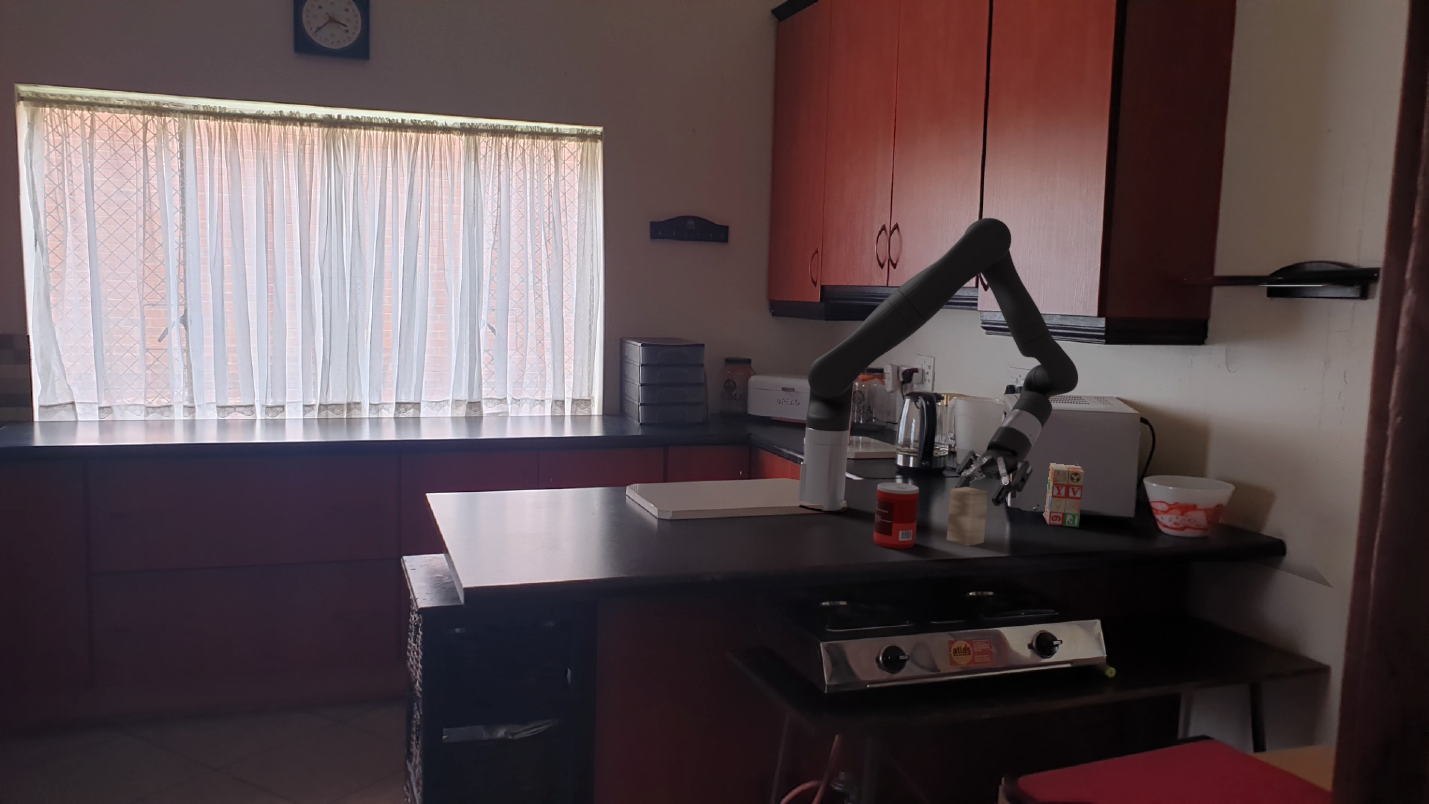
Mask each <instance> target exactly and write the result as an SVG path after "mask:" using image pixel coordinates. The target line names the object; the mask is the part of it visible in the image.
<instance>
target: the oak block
mask: <svg viewBox="0 0 1429 804" xmlns="http://www.w3.org/2000/svg"><path fill="white" fill-rule="evenodd" d="M988 499H989V491H988V490H981V489H978V488H973V487H970V486H969V487H962V488H955V487H954V488H950V494H949V507H948V517H947V532H946V541H950V542H954V543H956V544H960V545H965V546H968V547H969V546H974V545H978V544H983V543H984V542H985V536H986V535H985V532H986V519H987V511H988Z"/></svg>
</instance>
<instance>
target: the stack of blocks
mask: <svg viewBox="0 0 1429 804" xmlns="http://www.w3.org/2000/svg"><path fill="white" fill-rule="evenodd" d="M1049 469H1050V471H1049V477H1048V484H1047V494H1046V505H1045V512H1044V513H1043V514H1042V516H1043V517H1044V519H1045V521H1046V523H1047V524H1048V525H1049V526H1050V525H1051V526H1060V525H1063V526H1062V527H1072V528H1079V525H1080V518H1081V517H1080V516H1081V506H1082V505H1081V504H1082V498H1083V490H1084V489H1083V488H1084V479H1085V471H1084V470H1083V467H1081V466H1080V465H1079V466H1075V465H1064V464H1056V463H1050V466H1049Z"/></svg>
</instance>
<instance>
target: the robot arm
mask: <svg viewBox="0 0 1429 804" xmlns="http://www.w3.org/2000/svg"><path fill="white" fill-rule="evenodd" d="M1011 244H1012V235H1011V230H1010V228H1009V227H1008V226H1007V224H1006V223H1005V222H1003V221H1002V220H1000V219H997V218H993V217H985V218H983V217H982V218H981V219H979V220H976V221H974V222H973V223H971V224H970V225H969V226H968V227H966V230H965V231H964V234H963V235H962V236H961V237H960V238H959V239H958V241H956V242H955V244H954V245H952V246H951V247H950V248H949V250H948V251H946V252H945V254H943V255H942V256H941V257H940V258H939V259H938V260H937V261H935V262H933V263H932V264H930V265H929V266H927V267H925V268H924V269H923V270H921V271H919V272H918V273H916V274H915V275H914V276H912V277H910V278H909V279H908V280H907V281H905V282H903V284H901V285H900V286H898V288H897V289H896V290H894V291H893V292H892V293H891V294H890V295H889V296H888V297H886V298H885V299H884V300H883V301H882V302H881V303H880V304H879V305H877V307H876V308H875V309H874V310H873V311H872V312H871V313H870V314H869V315H868V316H867V317H866V319H865V320H864V321H863V322H862V323H861V324H860V325H859V326H858V328H857V329H856V330H855V331H854V332H853V333H851V334H850V335H849V336H847V338H845V339H844V340H842V341H841V342H840V343H838V344H837V345H836V346H834V347H833V348H832V349H830V350H829V351H827V352H825V354H823V355H821V356H819V357H817V358H816V359H814V361H813V362H812V363H811V365H810V367H809V369H808V372H807V383H808V385H809V395H808V397H809V400H808V405H807V406H808V408H807V413H806V417H805V418H806V419H805V420H806V423H805V435H804V437H805V438H804V454H803V461H802V462H801V463H800V473H799V488H798V500H799V501H806V502H808V503H810V504H819V505H822V506H824V507H823V508H824V510H823V511H833V512H835V511H839V510H840V511H841V510H843V509H842V506H843V507H844V505H843V504H845V503H844V502H845V489H846V477H847V476H846V475H847V460H848V446H849V445H848V443H849V430H850V423H851V422H850V421H851V414H852V403H853V389H854V382H855V380H857V378H858V377H859V376H861V374H863V373H864V371H865V370H866V369H868V367H869V366H870V365H872V364H873V363H874V362H875V361H876V360H877V359H879V358H880V357H882V356H883V355H884V354H886V353H888V352H890V351H891V350H893V349H894V348H896V347H897V346H898V345H900V344H901V343H903V342H904V341H905V340H908V338H909V337H911V336H912V335H913V334H915V333H916V332H917V331H918V330H919V329H921V328H922V327H923V326H924V325H925V324H926V323H927V322H929V321H930V320H931V319H933V317H934V316H935V315H936V314H937V313H938V312H940V310H942V308H943V307H944V306H946V304H947V303H948V302H949V301H951V299H952V298H953V297H954V296H955V295H956V294H957V292H958V291H959V290H961V289H962V287H964V286H965V285H966V284H967V283H969V282H971V280H973V279H974V278H975V277H977V276H978V275H979V274H981V275H982V277H983V278H984V280H985V281H986V283H987V285H988V287H989V288H990V291H991V292H992V294H993V296H994V298H995V300H996V303H997V305H998V307H999V310H1000V311H1001V315H1002V317H1003V319H1004V321H1005V324H1006V325H1007V328H1008V330H1009V332H1010V334H1011V337H1012V338H1013V341H1014V343H1015V345H1016V348H1018V351H1019V353H1020V354H1021V356H1022V357H1025V358H1033V359H1036V360H1037V362H1038V363H1039V364H1038V365H1036V366H1034V367H1033V368H1032V369H1030V371H1028V372H1027V374H1026V376H1025V378H1024V380H1023V383H1022V385H1021V386H1022V387H1021V390H1020V393H1019V398H1018V399H1017V401H1016V402H1015V404H1014V405H1013V406H1012V408H1011V410H1010V412H1009V413H1008V414H1007V415H1006V416H1005V418H1004V419H1003V420H1002V422H1001V423H1000V425H999V426H998V427H997V429H996V430H995V433H993V435H992V437H991V438H990V440H989V442H988V443H987V446H986V450H985V451H984V452H983V453H982V454H977V453H976V452H975V450H969V451H968V453H967V454H966V455H965V457H964V458H963V459H962V460H961V462H960V463H959V465H958V466H957V468H956V469H955V472H956V474H957V475H958V477H959V480H958V482H957V484H956V485H955V486H954V489H955V488H962V487H970V486H971V484H972V483H973V482H976V481H977V480H978V481H980V480H983V479H985V478H987V479H994V480H996V481H1000V480H1001V483H1002V484H999V486H998V487H997V489H996V491H995V493H994V494H993V495H992V497H991V502H992V504H993V506H995V507H1000V505H1003V503H1004V502H1005V501H1006V499H1007V498H1008V496H1009V494H1010V493H1013V492H1017V493H1022V491H1023V490H1024V488H1025V486H1026V484H1027V482H1028V480H1029V479H1030V476H1031V474H1032V473H1033V468H1032V466H1031V463H1030V462H1029V460H1025V459H1026V458H1027V456H1028V454H1029V453H1030V451H1031V450H1032V448H1033V447H1034V445H1035V444H1036V441H1037V440H1038V438H1039V436H1040V433H1041V431H1042V430H1043V428H1044V427H1045V425H1046V423H1047V421H1048V420H1049V418H1050V417H1051V414H1052V412H1053V404H1052V402H1051V400H1050V398H1051V397H1057V396H1059V395H1064V394H1068V393H1070V392H1072V391H1074V390H1075V389H1076V388H1077V385H1078V383H1079V373H1078V369H1077V367H1076V364H1075V363H1074V362H1073V360H1072V359H1071V357H1070V356H1069V355H1068V354H1067V353H1066V351H1065V350H1064V349H1063V348H1062V347H1061V345H1060V344H1059V343H1058V342H1057V341H1056V340H1055V339H1054V337H1053V335H1052V334H1051V331H1050V329H1049V326H1048V325H1047V324H1046V321H1045V319H1044V317H1043V315H1042V313H1041V311H1040V310H1039V307H1038V306H1037V304H1036V303H1035V301H1034V299H1033V297H1032V296H1031V295H1030V292H1029V291H1028V290H1027V287H1025V284H1024V283H1023V281H1022V279H1021V277H1020V276H1019V273H1018V270H1017V268H1016V267H1015V263H1014V261H1013V258H1012V254H1011V251H1010V248H1011ZM979 469H980V470H981V471H980V472H979ZM1014 473H1016V474H1015V476H1014V477H1013V479H1012V476H1011V475H1012V474H1014Z"/></svg>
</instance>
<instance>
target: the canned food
mask: <svg viewBox="0 0 1429 804" xmlns="http://www.w3.org/2000/svg"><path fill="white" fill-rule="evenodd" d="M919 496H920V488H919V486H917V485H914V484H910V483H905V482H881V483H878V484H877V488H876V500H875V510H874V511H875V512H874V513H875V514H874V527H873V542H874V544H876V545H877V546H879V547H883V548H887V549H888V548H889V549H896V550H900V549H901V550H903V549H905V548H906V549H910V548H913V547H914V545H915V542H916V533H917V521H918V512H919V511H918V510H919V509H918V508H919V498H920V497H919ZM906 549H905V550H906Z"/></svg>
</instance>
